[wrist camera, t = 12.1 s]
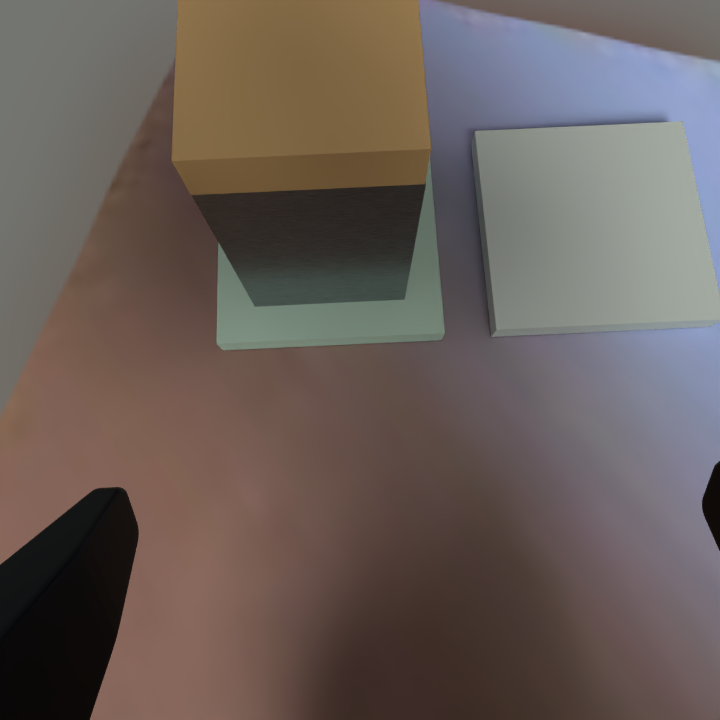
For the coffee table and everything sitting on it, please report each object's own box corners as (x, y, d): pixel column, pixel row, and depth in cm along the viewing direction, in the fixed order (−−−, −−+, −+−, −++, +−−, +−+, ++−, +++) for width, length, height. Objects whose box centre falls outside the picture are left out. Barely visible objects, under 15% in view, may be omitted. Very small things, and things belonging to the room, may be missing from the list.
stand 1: (441, 340, 24) (444, 333, 23) (222, 350, 24) (216, 343, 23) (425, 147, 26) (427, 133, 25) (225, 157, 26) (220, 143, 25)
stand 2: (709, 326, 24) (724, 319, 23) (491, 336, 24) (496, 329, 23) (670, 135, 26) (682, 121, 25) (470, 145, 26) (475, 131, 25)
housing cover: (419, 214, 16) (431, 148, 13) (207, 224, 16) (171, 161, 13) (405, 39, 18) (413, -57, 15) (211, 48, 18) (179, -46, 15)
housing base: (404, 299, 23) (425, 184, 15) (254, 306, 23) (191, 195, 15) (395, 166, 24) (410, -6, 16) (254, 173, 24) (197, 4, 16)
